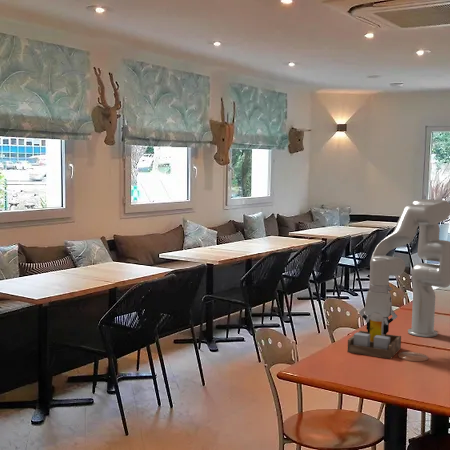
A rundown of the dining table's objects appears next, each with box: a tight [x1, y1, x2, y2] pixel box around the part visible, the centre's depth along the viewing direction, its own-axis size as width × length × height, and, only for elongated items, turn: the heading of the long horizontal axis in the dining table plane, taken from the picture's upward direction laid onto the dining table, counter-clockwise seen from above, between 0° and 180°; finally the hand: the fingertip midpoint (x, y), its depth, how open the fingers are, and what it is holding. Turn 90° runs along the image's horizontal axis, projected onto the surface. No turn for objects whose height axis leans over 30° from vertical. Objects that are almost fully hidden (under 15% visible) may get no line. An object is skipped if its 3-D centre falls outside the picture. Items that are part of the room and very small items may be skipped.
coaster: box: [397, 351, 429, 363], centre depth 241 cm, size 11×11×1 cm
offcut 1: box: [353, 331, 370, 347], centre depth 248 cm, size 4×6×7 cm
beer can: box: [370, 312, 385, 342], centre depth 252 cm, size 6×6×15 cm
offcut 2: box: [374, 335, 390, 350], centre depth 244 cm, size 4×6×7 cm
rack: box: [347, 330, 402, 360], centre depth 250 cm, size 17×17×5 cm
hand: (377, 332), depth 253 cm, fingers closed on beer can, 5 cm apart
